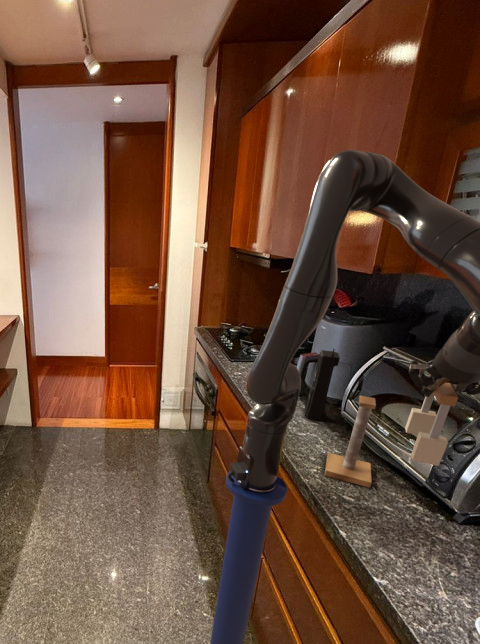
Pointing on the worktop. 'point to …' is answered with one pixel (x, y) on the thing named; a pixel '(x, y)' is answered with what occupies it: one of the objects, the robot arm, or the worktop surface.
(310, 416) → the portable radio
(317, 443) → the worktop surface
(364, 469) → the headphone stand
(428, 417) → the brown blocky piece
